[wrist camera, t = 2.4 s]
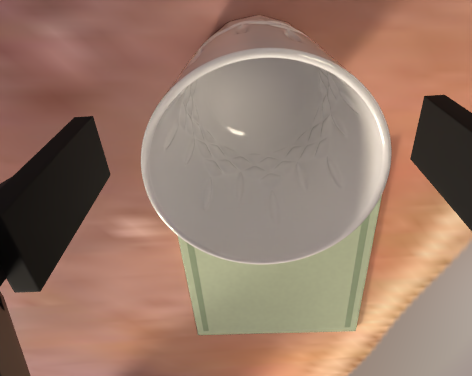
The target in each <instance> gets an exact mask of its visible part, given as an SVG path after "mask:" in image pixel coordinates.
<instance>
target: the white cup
mask: <svg viewBox="0 0 472 376" xmlns="http://www.w3.org/2000/svg"><path fill="white" fill-rule="evenodd" d="M390 166H391V140H390V134H389V129H388V126H387V122H386V120H385V117H384V115H383V112H382V110H381V108H380V107H379V105H378V103H377V101H376V100H375V98H374V97H373V96H372V94H371V93H370V92H369V91H368V89H367V88H366V87H365V86H364V85H363V84H362V83H361V82H360V81H359V80H358V79H357V78H356V77H354V76H353V75H352V74H351V73H350V72H349V71H348V70H346V69H345V68H344V67H343V66H342V65H341V64H340V63H338V62H337V61H336V60H335V59H334V58H333V57H332V56H331V55H330V54H328V53H327V52H326V51H325V50H324V49H323V48H322V47H320V46H319V45H318V44H317V43H316V42H315V41H313V40H312V39H310V38H309V37H308V36H306V35H305V34H304V33H302V32H301V31H299V30H297V29H295V28H293V27H292V26H291V25H290V24H289V23H287V22H283V21H280V20H276V19H272V18H269V17H265V16H262V15H256V16H251V17H247V18H243V19H238V20H234V21H230V22H228V23H227V24H226V25H224V26H223V27H222V28H221V29H220V30H219V31H217V32H216V33H215V34H214V35H213V36H211V37H210V38H209V39H208V40H207V41H206V42H205V43H204V44H203V45H202V46H201V47H200V48H199V49H198V51H197V52H196V53H195V54H194V56H193V57H192V58H191V59H190V60H189V62H188V63H187V64H186V66H185V67H184V69H183V70H182V71H181V73H180V74H179V76H178V77H177V79H176V80H175V82H174V83H173V84H172V86H171V87H170V89H169V90H168V91H167V93H166V94H165V96H164V97H163V98H162V100H161V101H160V103H159V104H158V106H157V107H156V109H155V110H154V112H153V114H152V116H151V118H150V120H149V123H148V125H147V128H146V131H145V134H144V138H143V143H142V150H141V170H142V177H143V182H144V186H145V189H146V192H147V195H148V197H149V199H150V201H151V203H152V205H153V207H154V209H155V210H156V212H157V213H158V215H159V216H160V218H161V219H162V220H163V221H164V223H165V224H166V225H167V226H168V227H169V228H170V229H171V230H172V231H173V232H174V233H175V234H176V235H178V236H179V237H180V238H181V239H183V240H184V241H185V242H187V243H188V244H190V245H192V246H193V247H195V248H197V249H199V250H201V251H203V252H205V253H207V254H209V255H212V256H215V257H217V258H221V259H224V260H228V261H232V262H237V263H244V264H257V265H266V264H279V263H286V262H291V261H296V260H300V259H303V258H307V257H310V256H312V255H315V254H317V253H320V252H322V251H324V250H326V249H328V248H330V247H332V246H333V245H335V244H337V243H338V242H340V241H341V240H343V239H344V238H346V237H347V236H348V235H350V234H351V233H352V232H353V231H354V230H355V229H356V228H358V227H359V226H360V225H361V224H362V222H363V221H364V220H365V219H366V218H367V217H368V215H369V214H370V213H371V212H372V210H373V209H374V207H375V206H376V204H377V202H378V201H379V199H380V197H381V195H382V193H383V191H384V188H385V186H386V183H387V179H388V176H389V171H390Z"/></svg>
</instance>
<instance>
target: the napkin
mask: <svg viewBox="0 0 472 376" xmlns="http://www.w3.org/2000/svg"><path fill="white" fill-rule="evenodd" d="M381 197H382V195H381ZM381 197H380V199H379V201H378V202H377V204H376V206H375V207H374V209H373V210H372V212H371V213H370V214H369V215H368V217H367V218H366V219H365V220H364V221H363V222H362V224H361V225H360V226H359V227H358V228H356V229H355V230H354V231H353V232H352V233H351V234H350V235H348V236H347V237H346V238H344V239H343V240H341V241H340V242H338V243H337V244H335V245H333V246H332V247H330V248H328V249H326V250H324V251H322V252H320V253H317V254H315V255H312V256H310V257H307V258H303V259H300V260H296V261H291V262H286V263H279V264H266V265H257V264H244V263H237V262H232V261H228V260H224V259H221V258H217V257H215V256H212V255H209V254H207V253H205V252H203V251H201V250H199V249H197V248H195V247H193V246H192V245H190V244H188V243H187V242H185V241H184V240H183V239H181V238H180V237H179V236H178V239H179V244H180V249H181V254H182V259H183V264H184V268H185V273H186V278H187V283H188V288H189V293H190V297H191V302H192V307H193V312H194V317H195V322H196V326H197V331H198V335H224V334H262V333H301V332H340V331H356V327H357V321H358V316H359V311H360V306H361V301H362V295H363V290H364V285H365V280H366V275H367V270H368V264H369V259H370V254H371V249H372V244H373V238H374V233H375V228H376V223H377V218H378V212H379V207H380V202H381Z"/></svg>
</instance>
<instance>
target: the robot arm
mask: <svg viewBox="0 0 472 376" xmlns="http://www.w3.org/2000/svg"><path fill="white" fill-rule="evenodd" d="M411 160H412V161H413V163H414V164H415V165H416V166H417V167H418V168H419V170H420V171H421V172H422V173H423V174H424V175H425V177H426V178H427V179H428V180H429V181H430V183H431V184H432V185H433V186H434V187H435V188H436V190H437V191H438V192H439V193H440V194H441V196H442V197H443V198H444V199H445V200H446V201H447V203H448V204H449V205H450V206H451V207H452V209H453V210H454V211H455V212H456V213H457V214H458V216H459V217H460V218H461V219H462V220H463V222H464V223H465V224H466V225H467V226H468V227H469V229H470V230H471V231H472V113H471V112H469V111H468V110H466V109H465V108H463V107H462V106H460V105H459V104H457V103H456V102H454V101H453V100H451V99H450V98H449V97H447V96H446V95H435V96H424V100H423V105H422V109H421V114H420V118H419V123H418V127H417V132H416V136H415V141H414V145H413V150H412V154H411ZM109 176H110V171H109V168H108V165H107V161H106V158H105V155H104V151H103V148H102V145H101V141H100V138H99V135H98V131H97V128H96V124H95V121H94V118H93V116H89V117H74V118H73V119H72V120H71V121H70V122H69V123H68V124H67V125H66V126H65V127H64V128H63V129H62V130H61V131H60V132H59V133H58V134H57V135H56V136H55V137H54V138H52V139H51V140H50V141H49V142H48V143H47V144H46V145H45V146H44V147H43V148H42V149H41V150H40V151H39V152H38V153H37V154H36V155H35V156H34V157H33V158H32V159H31V160H30V161H28V162H27V163H26V164H25V165H24V166H23V167H22V168H21V169H20V170H19V171H18V172H17V173H16V174H15V175H14V176H13V177H11V178H9V179H8V180H6V181H4V182H2V183H1V184H0V286H1V284H2V283H3V282H4V280H5V279H6V278H7V280H8V282H9V284H10V285H11V287H12V289H13V290H14V292H40V291H41V290H42V288H43V286H44V285H45V283H46V281H47V280H48V278H49V276H50V275H51V273H52V271H53V270H54V268H55V266H56V265H57V263H58V261H59V260H60V258H61V256H62V255H63V253H64V251H65V250H66V248H67V246H68V245H69V243H70V241H71V240H72V238H73V236H74V235H75V233H76V231H77V230H78V228H79V226H80V225H81V223H82V221H83V220H84V218H85V216H86V215H87V213H88V211H89V210H90V208H91V206H92V205H93V203H94V201H95V200H96V198H97V196H98V195H99V193H100V191H101V190H102V188H103V186H104V185H105V183H106V181H107V180H108V178H109ZM0 376H30V373H29V370H28V367H27V364H26V361H25V358H24V355H23V352H22V349H21V347H20V344H19V341H18V338H17V335H16V332H15V329H14V326H13V323H12V320H11V317H10V314H9V311H8V308H7V306H6V303H5V300H4V297H3V295H2V294H1V292H0Z"/></svg>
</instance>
